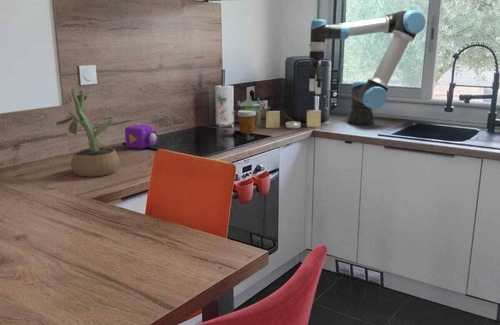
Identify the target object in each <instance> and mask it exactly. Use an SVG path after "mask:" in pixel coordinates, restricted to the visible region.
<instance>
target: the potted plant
mask: <svg viewBox="0 0 500 325" xmlns="http://www.w3.org/2000/svg"><path fill="white" fill-rule="evenodd" d="M70 90H71V94H72V99H73V102H74V107H75V112H76V114H77V116H78V117H77V116H76V115H75V114H73V113H72V112H71V111H69V112H68V114H69V115H70V117H68V118H65V119H63V120H59V121H57V122H56V124H55V125H56V126H59V125H64V124H67V123H69V122H70V121H72V122H71V123H70V124H69V126H68V131H69V133H70V134H73V135H77V132H78V131H77V130H78V123H79V124H80V125H81V126H82V128H84V131H85V134H86V137H87V139H88V146H89V147H85V148H81V149H78V150H77V149H76V150H75V151H74V152H73V155H72V157H71V161H70V167H71V170H72V172H74V174H75V175H77V176H79V175H80V177H83V176H87V177H86V178H95V177H98V176H99V177H105V176H109V175H112V174H114V173H115V172H116V171H117V170H119V166H120V156H119V155H118V153H117V152H116V150H115V149H114V148H112V147H109V146H108V147H106V146H105V147H104V146H100V144H99V143H100V142H99V139H98V138H97V136H98V135H99V134H101V133H102V132H104V131H105V130H107V129H108V128H109V127H110V126H111V124H112V123H113V121H114V118H115V114H114V112H112V114H111V116H110V117H104V116H102V119H101V120H102V121H106V120H107V122H105V123H104V124H103V125H102V126H100V127H98V128H97V129H96V130H95V129H94V127H93V126H92V124H91V123H90V121H89V118H88V117H86V114H85V113H84V112H83V109H84V102H85V100H87V98H88V97H87V96H86V94H85V92H84V91H83V90H79V92H78V93H79V94H78V95H77V93H76V89H75V88H71V89H70ZM104 175H105V176H104Z"/></svg>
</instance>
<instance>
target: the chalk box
mask: <svg viewBox="0 0 500 325" xmlns="http://www.w3.org/2000/svg"><path fill="white" fill-rule="evenodd" d="M249 99H250V103H244V104H243V110H254V111H255V112H256V116H255V122H254V126H255V125H262V121H261V118H262V116H261V114H262V113H261V109H262V108H261V107H262V106H261V104H260V103H253V101H252V98H249Z"/></svg>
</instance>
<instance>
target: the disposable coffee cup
mask: <svg viewBox="0 0 500 325" xmlns="http://www.w3.org/2000/svg"><path fill="white" fill-rule="evenodd" d="M236 115H237V118H238V125H239V133H241V134H244V135H246V134H253V133H254V130H255V129H254V128H255V125H254V122H255V116H256V112H255V111H254V110H244V109H241V110H238V111H237V113H236Z"/></svg>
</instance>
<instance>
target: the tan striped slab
mask: <svg viewBox="0 0 500 325" xmlns="http://www.w3.org/2000/svg"><path fill="white" fill-rule="evenodd" d="M280 112H281V110H267V111H266V110H265V128H266V129H270V128H271V129H272V128H273V129H275V128H276V129H277V128H281V127H280V123H281V119H280V118H281V117H280V116H281V115H280V114H281V113H280Z"/></svg>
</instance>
